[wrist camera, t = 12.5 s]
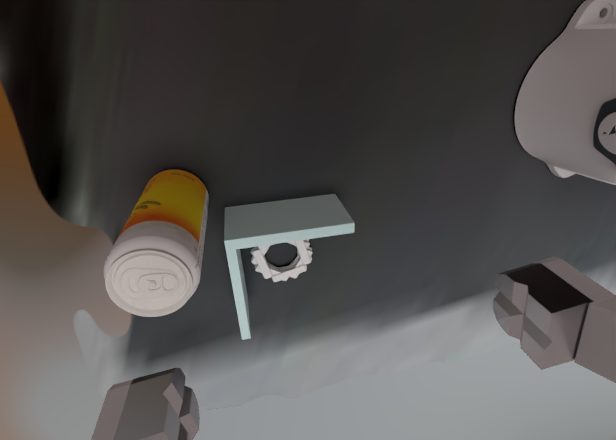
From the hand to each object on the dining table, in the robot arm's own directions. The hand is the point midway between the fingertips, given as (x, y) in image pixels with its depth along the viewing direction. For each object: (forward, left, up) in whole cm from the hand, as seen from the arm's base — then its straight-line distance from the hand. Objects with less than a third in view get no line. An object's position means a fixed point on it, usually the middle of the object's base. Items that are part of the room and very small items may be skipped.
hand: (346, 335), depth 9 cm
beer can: (+10, +6, -29) cm, 32 cm away
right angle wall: (+1, +15, -30) cm, 34 cm away
